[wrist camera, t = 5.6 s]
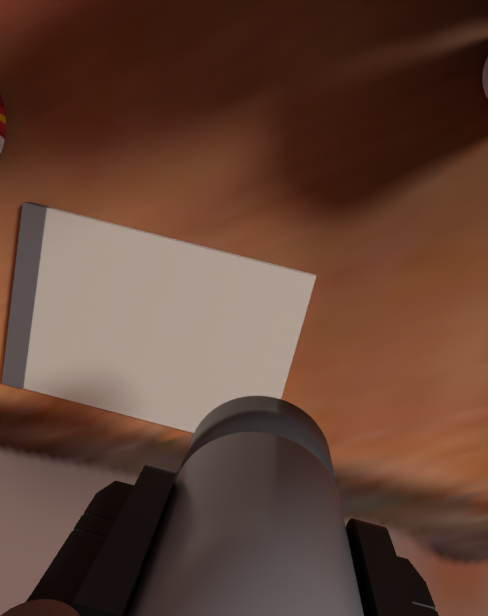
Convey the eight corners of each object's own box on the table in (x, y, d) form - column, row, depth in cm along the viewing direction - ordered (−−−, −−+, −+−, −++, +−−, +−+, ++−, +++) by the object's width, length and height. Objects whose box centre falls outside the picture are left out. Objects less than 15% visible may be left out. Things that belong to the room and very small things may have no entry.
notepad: (30, 202, 22) (22, 201, 22) (315, 274, 22) (316, 276, 21) (9, 378, 25) (1, 383, 24) (265, 446, 24) (265, 452, 24)
